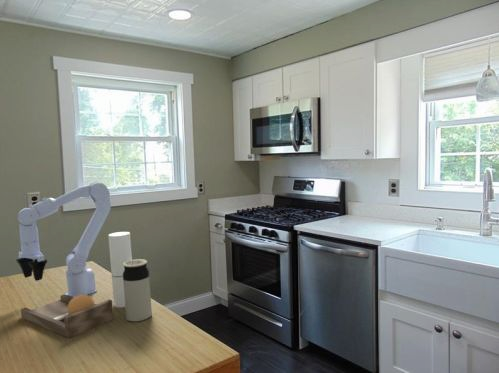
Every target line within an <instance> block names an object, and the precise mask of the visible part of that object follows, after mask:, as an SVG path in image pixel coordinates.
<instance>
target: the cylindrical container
mask: <svg viewBox="0 0 499 373" xmlns="http://www.w3.org/2000/svg"><path fill="white" fill-rule="evenodd" d="M107 236H108V246H109V247H108V248H109V249H108V250H109V258H110V272H111V284H112V286H111V287H112V295H113V297H112V298H113V306H114V307H115V308H125V296H124V284H123V272H124V270H125V269H124V266H123V263H124V262H126V261H130V260H133V256H132V255H133V254H132V240H131V232H130V231H118V232H117V231H116V232H112V233H109V234H108V235H107Z"/></svg>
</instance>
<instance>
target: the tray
mask: <svg viewBox="0 0 499 373" xmlns="http://www.w3.org/2000/svg"><path fill="white" fill-rule="evenodd" d="M65 294H66V293H64V295H63V294H61V295H60V299H59V300H55V301H54V302H49V303H48V304H45V305H41V306H38V307H35V308H33V309H30V308H28V307H23V308H20V316H21V317H20V318H21V319H23V320H25V321H28V322H31V323H33V324H35V325H37V326H39V327H42V328H44V329H46V330H49V331H51V332H53V333H55V334H58V335H60V336H63V337H65V338H67V339H70V338H72V337H75V336H77V335H79V334H82V333H83V332H84V333H85V332H87V331H89V330H91V329H93V328H96V327H97V326H100V325H102V324H105V323H106V322H108V321H111V320H113V319H114V309H113V300H112V299H107V300H105V301H104V300H103V301H101V302H98V303H94V304H95V305H94V306H91V307H89V308H86V309H84V310H81V311H79V312H76V313H73V314H71V315H69V314H68V310H67V308H68V304H69V302H70V301H71V300H72V299H73V298H74V297H72V296H68V295H65Z"/></svg>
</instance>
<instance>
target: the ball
mask: <svg viewBox="0 0 499 373" xmlns="http://www.w3.org/2000/svg"><path fill="white" fill-rule="evenodd" d="M95 304H96V303H95V301H94V299H93V298H92V297H91V296H90V295H89V294H88V295H78V296H75V297H74V298H73V299H72V300H71V301H70V302H69V304H68V308H67V310H68V314H69V315H71V314H73V313H76V312H79V311H81V310H84V309H86V308H89V307H91V306H94V305H95Z"/></svg>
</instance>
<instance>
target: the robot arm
mask: <svg viewBox="0 0 499 373" xmlns="http://www.w3.org/2000/svg"><path fill="white" fill-rule="evenodd" d="M110 196H111V193H110V190H109V189H108V186H107V185H106V184H104V183H103V182H98V181H93V182H90V183H88V184H85V185H81V186H79V187H77V188H75V189H73V190H70V191H68V192H66V193H65V194H63V195H60V196H58V197H55V198H53V197H48V198H47V197H44V198H42V199H41V201H39V202H37V203H35V204H32V203H31V204H29V205H28V207H25V208H23V209H21V210H20V211H19V212H18V215H17V220H18V223H19V224H18V227H19V230H18V231H19V241H20V250H21V251H18V259H16V260H15V261H16V263H17V264H18V266H19V267H20V268H21V271H22V274H23V276H24V278H29V277H33V278H34V280H35V281H36V282H38V281H40V280H42V279H43V275H44V271H45V267H46V264H47V263H48V259H46V258H45V255H44V254H43V253H42V252H41V250H40V239H39V237H40V236H39V230H38V226H37V220H42V219H44V218H46V217H48V216H50V215H52V214H55V213H56V212H58V211H59V208H60V207H62V206H63V205H66V204H69V203H70V202H73V201H75V200H77V199H81V198H85V199H86V198H87V199H90V198H91V199H92V200H93V203H94V205H95V211H94V212H93V214H92V216H91V218H90V220H89V221H88V224H87V225H86V228H85V229H84V232H83V233H82V235H81V237H80V239H79V241H78V243H77V244H76V246H75V247H74V248H73V250H72V251H71V252H70V253H69V254H68V255H67V256H66V257H65V264H66V266H67V270H66V271H65V274H66V287H67V292H66V293H64V294H65V295H68V296H72V297H75V296H78V295H88V296H89V295H91V294H93V293H96V292H97V291H98V290H97V288H96V279H95V273H94V271H93V270H92V268H87V260H88V258H89V255H90V250H91V248H92V247H93V244H95V240H96V239H97V236H98V235H99V233H100V230H102V229H101V228H102V227H103V225H104V223H105V221H106V219H107V217H108V216H109V213H110V211H111V208H112V206H111V198H110ZM32 275H33V276H32ZM35 281H34V282H35ZM64 294H62V295H64Z"/></svg>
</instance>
